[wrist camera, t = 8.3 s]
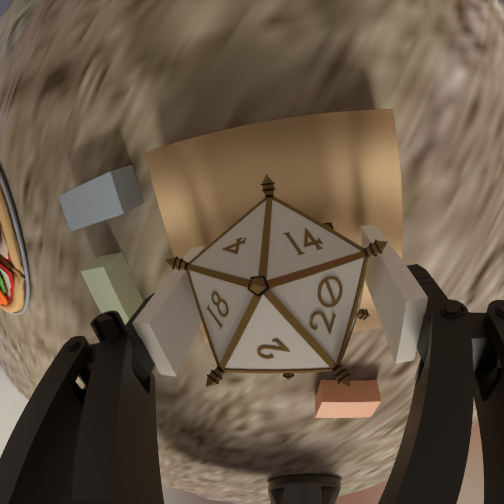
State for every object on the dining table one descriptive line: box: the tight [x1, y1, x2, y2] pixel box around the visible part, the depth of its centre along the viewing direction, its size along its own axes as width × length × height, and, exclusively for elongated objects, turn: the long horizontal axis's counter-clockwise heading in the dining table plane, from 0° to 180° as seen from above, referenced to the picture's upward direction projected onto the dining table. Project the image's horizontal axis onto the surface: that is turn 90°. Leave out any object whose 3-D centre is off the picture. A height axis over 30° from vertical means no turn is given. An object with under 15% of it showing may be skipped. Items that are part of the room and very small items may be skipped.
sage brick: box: [81, 252, 144, 325], centre depth 21 cm, size 6×3×3 cm, turn 13°
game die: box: [166, 174, 388, 387], centre depth 12 cm, size 9×8×10 cm
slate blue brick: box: [59, 165, 144, 232], centre depth 18 cm, size 6×3×3 cm, turn 103°
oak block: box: [145, 109, 402, 342], centre depth 17 cm, size 14×14×3 cm
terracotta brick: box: [315, 380, 381, 418], centre depth 23 cm, size 6×3×3 cm, turn 88°
